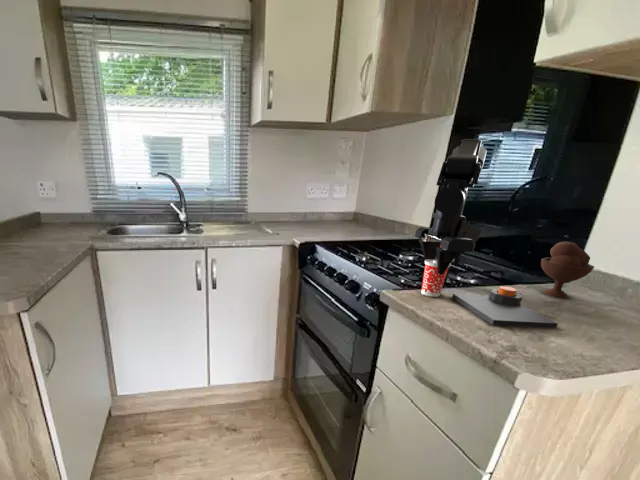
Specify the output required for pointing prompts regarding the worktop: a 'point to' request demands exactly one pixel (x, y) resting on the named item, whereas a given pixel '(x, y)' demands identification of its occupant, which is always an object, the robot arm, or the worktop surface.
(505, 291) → the button
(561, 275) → the ice cream bowl
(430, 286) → the beverage cup
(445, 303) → the worktop surface
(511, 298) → the scale
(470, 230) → the robot arm
